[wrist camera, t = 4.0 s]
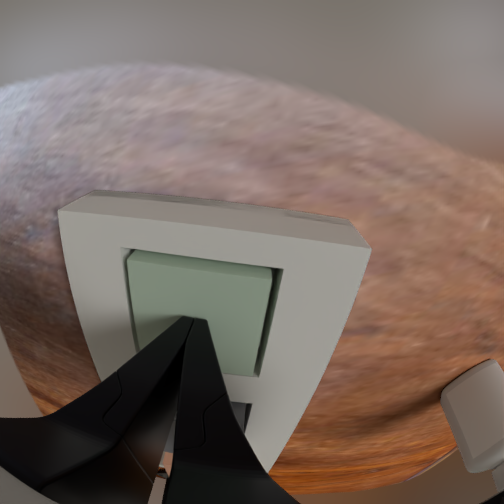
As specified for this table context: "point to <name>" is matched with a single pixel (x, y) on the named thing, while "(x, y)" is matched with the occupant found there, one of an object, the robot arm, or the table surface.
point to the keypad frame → (231, 250)
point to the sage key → (202, 302)
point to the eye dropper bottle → (478, 418)
